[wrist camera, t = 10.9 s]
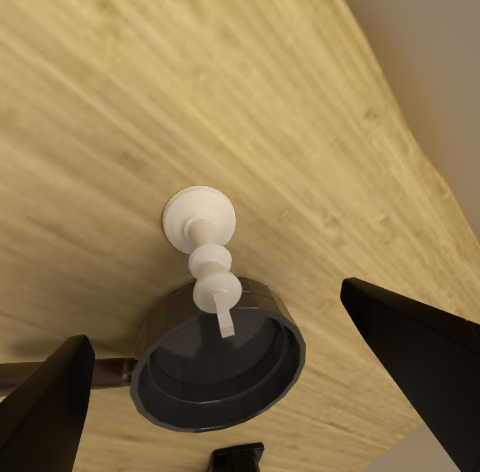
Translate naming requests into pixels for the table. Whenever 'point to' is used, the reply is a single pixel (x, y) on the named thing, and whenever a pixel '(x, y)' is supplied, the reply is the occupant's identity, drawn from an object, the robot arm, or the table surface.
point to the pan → (215, 361)
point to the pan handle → (104, 376)
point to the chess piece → (206, 247)
